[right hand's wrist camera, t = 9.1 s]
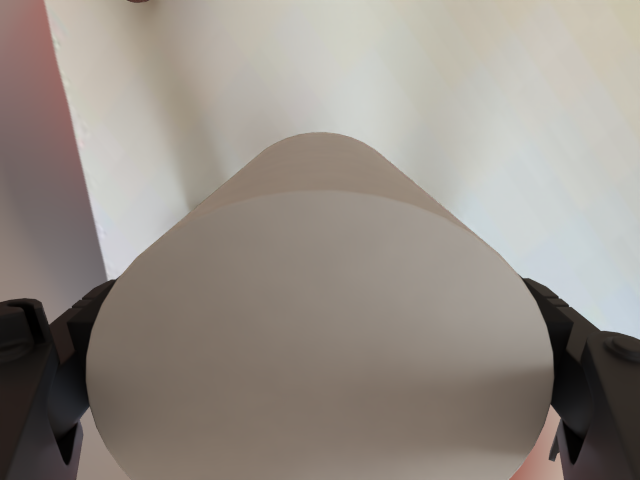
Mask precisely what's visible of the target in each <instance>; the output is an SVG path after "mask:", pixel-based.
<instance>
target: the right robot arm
mask: <svg viewBox="0 0 640 480" xmlns="http://www.w3.org/2000/svg"><path fill="white" fill-rule="evenodd" d="M518 275H519V274H518ZM519 276H520V275H519ZM119 277H120V276H119ZM119 277H118V278H119ZM520 277H521V276H520ZM118 278H117V279H118ZM117 279H116V280H110V281H108V282H105V283H103V284H101V285H99V286H97V287H95V288H94V289H92V290H91V291H90V292H89V293H88V294H86V295H85V296H84V297H83V298H82V300H79V301H78V302H77V303H75V304H74V305H73V306H72V308H70V309H68V310H67V311H66V312H64V313H63V314H62V315H61V316H59V317H58V318H57V319H56V320H55V321H53V322H52V323H51V324H50V325H49V324H48V321H47V318H46V315H45V312H44V309H43V306H42V303H41V302H40V301H38V300H36V299H27V298H23V299H14V300H8V301H3V302H0V480H76V477H77V471H78V465H79V459H80V452H81V446H82V440H83V430H82V425H81V422H80V418H81V417H82V415H83V414H84V413H85V412H86V410H87V409H88V408H89V406H90V405H89V399H88V393H87V386H86V356H87V351H88V346H89V341H90V336H91V332H92V328H93V326H94V323H95V321H96V318H97V316H98V313H99V311H100V308H101V306H102V304H103V302H104V300H105V299H106V297H107V295H108V294H109V292H110V291H111V289H112V287H113V286H114V284H115V282H116V281H117ZM521 279H522V280H523V282H524V283H525V285H526V286H527V288H528V290H529V291H530V293H531V294H532V296H533V297H534V299H535V300H536V302H537V305H538V307H539V309H540V312H541V314H542V316H543V319H544V321H545V323H546V326H547V330H548V334H549V339H550V343H551V347H552V352H553V366H554V382H553V391H552V399H551V405H552V407H553V408H554V409H555V411H556V412H557V413H558V414H559V416H560V417H561V419H560V422H559V425H558V428H557V432H556V435H555V438H554V441H553V444H552V447H551V450H550V454H549V460H551V461H555V458H556V455H557V453H559V452H560V458H561V464H562V470H563V476H564V480H640V340H639V339H637V338H634V337H631V336H628V335H624V334H621V333H617V332H609V331H600V330H599V329H598V328H597V327H595V326H594V325H593V324H592V323H590V322H589V321H588V320H587V319H586V318H584V317H583V316H582V315H581V314H579V313H578V312H577V311H576V310H574V309H573V308H572V307H569V305H568V304H567V303H566V302H565V301H563V300H562V299H559V297H558V296H557V295H556V294H555V293H553V292H552V291H551V290H550V289H549V288H547V287H546V286H544V285H542V284H540V283H538V282H536V281H534V280H531V279H529V278H522V277H521Z"/></svg>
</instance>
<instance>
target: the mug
mask: <svg viewBox="0 0 640 480" xmlns="http://www.w3.org/2000/svg"><path fill="white" fill-rule="evenodd" d="M127 1H130V2H134V3H140V2H146V1H148V0H127Z"/></svg>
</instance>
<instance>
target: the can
mask: <svg viewBox="0 0 640 480" xmlns="http://www.w3.org/2000/svg"><path fill="white" fill-rule="evenodd" d="M553 382H554V366H553V352H552V347H551V343H550V339H549V334H548V330H547V326H546V323H545V321H544V319H543V316H542V314H541V312H540V309H539V307H538V305H537V302H536V300H535V299H534V297H533V296H532V294H531V293H530V291H529V290H528V288H527V286H526V285H525V283H524V282H523V280H522V279H521V277H520V276H519V275H518V274H517V273H516V272H515V271H514V269H513V268H512V267H511V266H510V265H509V264H508V263H507V262H506V261H505V260H504V258H503V257H502V256H501V255H500V254H499V253H498V252H496V251H495V250H494V249H493V248H492V247H490V246H489V245H488V244H487V243H486V242H484V241H483V240H482V239H481V238H480V237H479V236H477V235H476V234H475V233H474V232H473V231H471V230H470V229H469V228H468V227H467V226H465V225H464V224H463V223H462V222H461V221H460V220H458V219H457V218H456V217H455V216H454V215H452V214H451V213H450V212H449V211H448V210H446V209H445V208H444V207H443V206H442V205H441V204H439V203H438V202H437V201H436V200H435V199H433V198H432V197H431V196H430V195H429V194H427V193H426V192H425V191H424V190H423V189H422V188H420V187H419V186H418V185H417V184H416V183H414V182H413V181H412V180H411V179H410V178H408V177H407V176H406V175H405V174H404V173H403V172H401V171H400V170H399V169H398V168H397V167H395V166H394V165H393V164H392V163H391V162H389V161H388V160H387V159H386V158H385V157H383V156H382V155H381V154H380V153H379V152H377V151H376V150H375V149H373V148H372V147H370V146H368V145H367V144H365V143H363V142H361V141H359V140H356V139H354V138H351V137H348V136H344V135H340V134H335V133H327V132H312V133H305V134H299V135H296V136H292V137H289V138H286V139H284V140H281V141H279V142H277V143H275V144H273V145H272V146H270V147H268V148H267V149H265V150H264V151H263V152H261V153H260V154H259V155H258V156H257V157H255V158H254V159H253V160H252V161H251V162H249V163H248V164H247V165H246V166H245V167H244V168H242V169H241V170H240V171H239V172H238V173H236V174H235V175H234V176H233V177H232V178H230V179H229V180H228V181H227V182H226V183H224V184H223V185H222V186H221V187H220V188H219V189H217V190H216V191H215V192H214V193H213V194H211V195H210V196H209V197H208V198H207V199H205V200H204V201H203V202H202V203H201V204H200V205H198V206H197V207H196V208H195V209H194V210H192V211H191V212H190V213H189V214H188V215H186V216H185V217H184V218H183V219H182V220H181V221H179V222H178V223H177V224H176V225H175V226H173V227H172V228H171V229H170V230H169V231H167V232H166V233H165V234H164V235H163V236H162V237H160V238H159V239H158V240H157V241H156V242H154V243H153V244H152V245H151V246H150V247H148V248H147V249H146V250H145V251H144V252H143V253H141V254H140V255H139V256H138V257H137V258H136V259H135V260H134V261H133V262H132V263H131V265H130V266H129V267H128V268H127V269H126V270H125V271H124V273H123V274H122V275H121V276H120V277H119V278H118V279H117V281H116V282H115V284H114V286H113V287H112V289H111V291H110V292H109V294H108V295H107V297H106V299H105V300H104V302H103V304H102V306H101V308H100V311H99V313H98V316H97V318H96V321H95V323H94V326H93V328H92V332H91V336H90V341H89V346H88V351H87V356H86V386H87V393H88V399H89V405H90V409H91V412H92V415H93V418H94V421H95V424H96V427H97V429H98V431H99V433H100V435H101V437H102V439H103V441H104V443H105V445H106V447H107V449H108V451H109V452H110V453H111V455H112V456H113V458H114V459H115V461H116V462H117V464H118V465H119V467H120V468H121V469H122V470H123V471H124V472H125V473H126V475H127V476H128V477H129V478H130V479H131V480H509V479H510V478H511V477H512V475H513V474H514V473H515V472H516V471H517V470H518V469H519V467H520V466H521V465H522V464H523V462H524V461H525V459H526V458H527V456H528V455H529V453H530V451H531V450H532V448H533V447H534V445H535V443H536V441H537V439H538V437H539V435H540V433H541V430H542V428H543V426H544V424H545V421H546V417H547V414H548V411H549V407H550V404H551V399H552V391H553Z"/></svg>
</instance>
